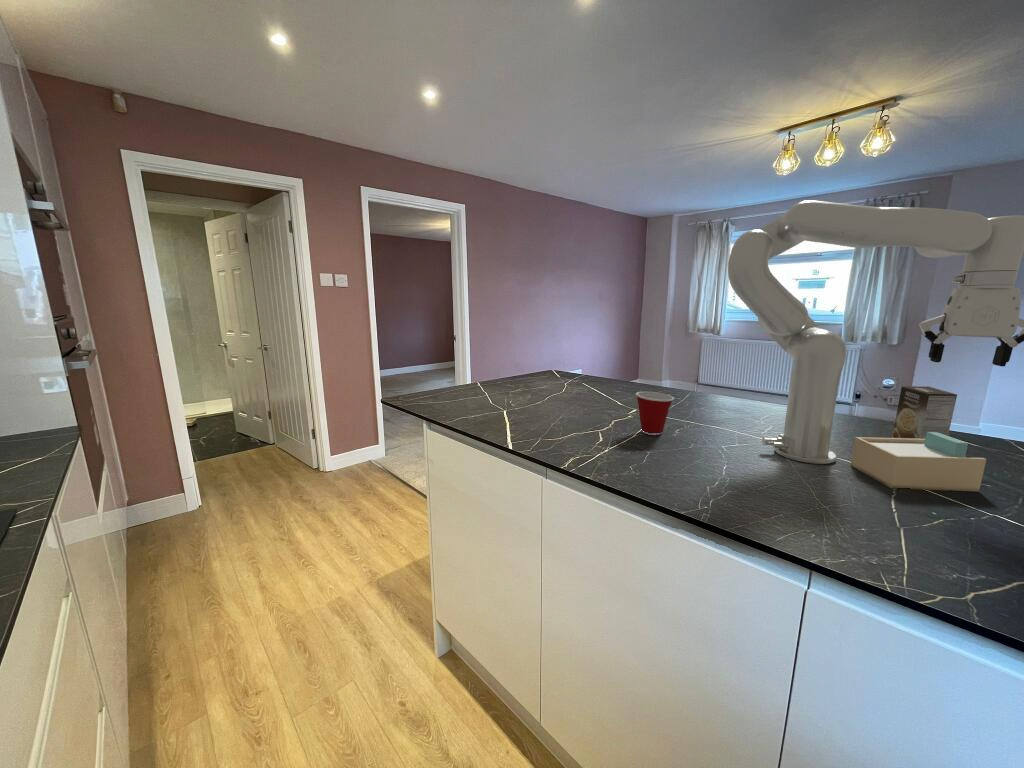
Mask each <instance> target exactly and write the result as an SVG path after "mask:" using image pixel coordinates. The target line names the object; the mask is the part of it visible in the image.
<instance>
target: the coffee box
mask: <svg viewBox="0 0 1024 768" xmlns="http://www.w3.org/2000/svg"><path fill="white" fill-rule="evenodd" d="M957 397H958V394H957V393H953V392H949V391H946V390H943V389H939V388H936V387H932V386H920V385H919V386H918V385H917V386H913V385H912V386H910V385H907V386H906V385H905V386H904V385H903V386H901V388H900V393H899V398H898V404H897V409H896V415H895V420H894V426H893V430H892V431H893V432H892V435H891V436H892V437H891V438H912V439H926V434H927V432H938V433H941V434H943V435H946V436H949V433H950V429H951V425H952V421H953V415H954V411H955V406H956V402H957Z"/></svg>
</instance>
